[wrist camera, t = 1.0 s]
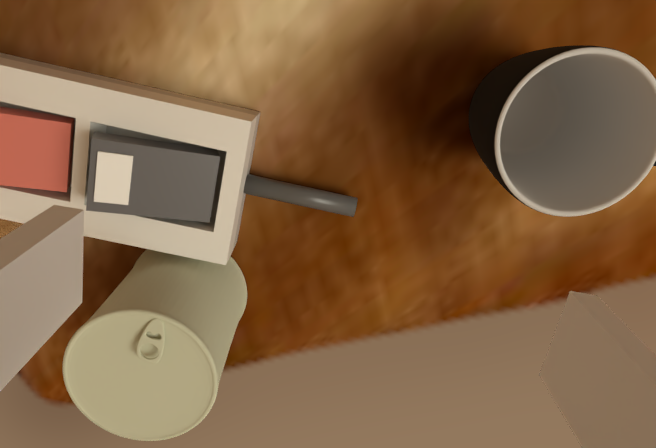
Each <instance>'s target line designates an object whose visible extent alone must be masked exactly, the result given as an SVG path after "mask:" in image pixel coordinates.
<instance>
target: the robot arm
mask: <svg viewBox="0 0 656 448" xmlns="http://www.w3.org/2000/svg"><path fill="white" fill-rule="evenodd" d="M83 240H84V210H83V209H77V208H71V207H65V206H59V205H53V206H52V207H50V208H48V209H47V210H45V211H44V212H42V213H40V214H39V215H37V216H36V217H34V218H32V219H31V220H29V221H28V222H26V223H24V224H23V225H21V226H20V227H18V228H16V229H15V230H13V231H12V232H10V233H8V234H7V235H5V236H4V237H2V238H0V391H1V390H2V389H3V388H4V387H5V386H6V384H8V382H9V381H10V380H11V379H12V378H13V377H14V376H15V375H16V374H17V373H18V372H19V371H20V369H21V368H22V367H23V366H24V365H25V364H26V363H27V362H28V361H29V360H30V359H31V358H32V356H33V355H34V354H35V353H36V352H37V351H38V350H39V349H40V348H41V347H42V346H43V345H44V343H45V342H46V341H47V340H48V339H49V338H50V337H51V336H52V335H53V334H54V333H55V332H56V330H57V329H58V328H59V327H60V326H61V325H62V324H63V323H64V322H65V321H66V320H67V319H68V317H69V316H70V315H71V314H72V313H73V312H74V311H75V310H76V309H77V308H78V307H79V306H80V304H81V303H82V293H83ZM539 376H540V378H541V379H542V381H543V383H544V384H545V386H546V388H547V390H548V391H549V393H550V395H551V396H552V398H553V399H554V401H555V403H556V404H557V406H558V408H559V410H560V412H561V413H562V415H563V417H564V418H565V420H566V422H567V423H568V425H569V427H570V428H571V430H572V432H573V434H574V435H575V437H576V438H577V440H578V442H579V444H580V445H581V447H582V448H656V355H655V354H654V353H653V352H652V351H651V350H650V349H649V348H648V347H647V346H646V345H645V344H644V343H643V342H642V341H641V339H640V338H639V337H638V336H636V334H635V333H634V332H633V331H632V330H631V329H630V328H629V327H628V326H627V325H626V324H625V323H624V322H623V321H622V320H621V319H620V318H619V317H618V316H617V315H616V314H614V312H613V311H612V310H611V309H610V308H609V307H608V306H607V305H606V304H605V303H604V302H603V301H602V300H601V299H600V298H599V297H598V296H597V295H591V294H585V293H579V292H573V291H570V293H569V295H568V298H567V301H566V303H565V306H564V309H563V311H562V315H561V317H560V319H559V322H558V325H557V327H556V330H555V333H554V335H553V338H552V341H551V343H550V346H549V349H548V352H547V354H546V357H545V360H544V362H543V365H542V368H541V370H540V373H539Z"/></svg>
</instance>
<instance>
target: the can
mask: <svg viewBox="0 0 656 448" xmlns="http://www.w3.org/2000/svg"><path fill="white" fill-rule="evenodd" d="M246 302H247V287H246V282H245V279H244V276H243V273H242V271H241V269H240V268H239V266H238V265H237V263H236V262H235V261H234V259H233V258H232V257H231V256H230V258H229V260H228V262H227V264H226V265H222V264H217V263H213V262H208V261H203V260H198V259H193V258H188V257H184V256H179V255H174V254H169V253H164V252H159V251H155V250H150V249H147V250H146V251H145V252H144V253H142V254H141V256H140V257H139V258H138V260H137V261H136V263H135V265H134V267H133V269H132V270H131V271H130V272H129V274H128V275H127V276H126V277H125V278H124V280H123V281H122V282H121V283H120V284H119V285H118V287H117V288H116V289H115V290H114V291H113V292H112V294H111V295H110V296H109V297H108V298H107V300H106V301H105V302H104V303H103V304H102V305H101V306H100V308H99V309H98V310H97V311H96V312H95V313H94V314H93V315H92V317H91V318H90V319H89V320H88V321H87V322H86V323H85V324H84V325H82V326H81V327H80V328H79V329H78V330H77V331H76V332H75V334H74V335H73V336H72V338H71V339H70V341H69V343H68V345H67V347H66V350H65V354H64V358H63V377H64V382H65V385H66V388H67V391H68V393H69V395H70V397H71V399H72V400H73V402H74V403H75V405H76V406H77V407H78V409H79V410H80V411H81V412H82V413H83V414H84V415H85V416H86V417H87V418H88V419H90V420H91V421H92V422H94V423H95V424H96V425H98V426H99V427H101V428H103V429H104V430H107V431H109V432H111V433H113V434H115V435H118V436H121V437H125V438H129V439H134V440H143V441H155V440H164V439H169V438H172V437H176V436H179V435H181V434H183V433H185V432H187V431H189V430H191V429H192V428H194V427H195V426H196V425H198V424H199V423H200V422H201V421H202V420H203V419H204V417H206V415H207V414H208V413H209V411H210V410H211V408H212V406H213V404H214V401H215V399H216V395H217V391H218V384H219V381H220V378H221V374H222V371H223V368H224V364H225V361H226V358H227V355H228V352H229V349H230V345H231V342H232V339H233V336H234V333H235V330H236V327H237V324H238V322H239V320H240V318H241V317H242V315H243V313H244V310H245V307H246Z"/></svg>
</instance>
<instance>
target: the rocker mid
mask: <svg viewBox="0 0 656 448" xmlns="http://www.w3.org/2000/svg"><path fill="white" fill-rule="evenodd" d="M73 134H74V118H73V117H66V116H60V115H53V114H46V113H40V112H33V111H27V110H20V109H14V108H7V107H0V185H4V186H13V187H22V188H32V189H41V190H51V191H60V192H67V190H68V188H69V185H70V179H71V164H72V149H73Z"/></svg>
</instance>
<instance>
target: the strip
mask: <svg viewBox="0 0 656 448" xmlns="http://www.w3.org/2000/svg"><path fill="white" fill-rule="evenodd" d="M0 107H7V108H14V109H20V110H27V111H33V112H40V113H46V114H53V115H60V116H66V117H73V118H74V134H73V149H72V164H71V179H70V185H69V188H68V190H67V192H60V191H51V190H41V189H32V188H22V187H13V186H4V185H0V219H5V220H9V221H14V222H19V223H26V222H28V221H29V220H31V219H32V218H34V217H36V216H37V215H39V214H40V213H42V212H44V211H45V210H47V209H48V208H50V207H52V206H53V205H59V206H65V207H71V208H77V209H83V210H84V236H87V237H92V238H96V239H101V240H106V241H111V242H116V243H121V244H126V245H130V246H135V247H140V248H145V249H150V250H155V251H159V252H164V253H169V254H174V255H179V256H184V257H188V258H193V259H198V260H203V261H208V262H213V263H217V264H222V265H226V264H227V262H228V260H229V258H230V256H231V253H232V251H233V249H234V247H235V245H236V242H237V239H238V233H239V228H240V222H241V217H242V211H243V206H244V200H245V195H246V194H250V195H254V196H259V197H263V198H268V199H273V200H277V201H282V202H287V203H291V204H296V205H300V206H305V207H310V208H314V209H319V210H323V211H328V212H333V213H337V214H342V215H347V216H351V217H353V216H354V214H355V210H356V206H357V198H355V197H351V196H346V195H341V194H337V193H332V192H328V191H323V190H319V189H314V188H310V187H305V186H300V185H296V184H291V183H287V182H282V181H278V180H273V179H268V178H264V177H259V176H255V175H250V174H249V173H250V167H251V162H252V156H253V150H254V145H255V139H256V134H257V128H258V123H259V117H260V112H259V111H254V110H250V109H245V108H241V107H237V106H232V105H228V104H224V103H219V102H215V101H210V100H206V99H202V98H197V97H193V96H188V95H184V94H180V93H175V92H171V91H166V90H162V89H158V88H153V87H149V86H145V85H140V84H136V83H131V82H127V81H123V80H118V79H114V78H109V77H105V76H101V75H96V74H92V73H87V72H83V71H79V70H74V69H70V68H66V67H61V66H57V65H52V64H48V63H44V62H39V61H35V60H30V59H26V58H22V57H17V56H13V55H9V54H4V53H0ZM94 132H101V133H108V134H115V135H122V136H129V137H136V138H142V139H149V140H156V141H163V142H170V143H177V144H184V145H190V146H197V147H204V148H211V149H217V150H218V153H219V155H220V161H219V167H218V174H217V180H216V186H215V192H214V199H213V205H212V211H211V217H210V222H199V221H189V220H179V219H168V218H158V217H147V216H137V215H127V214H116V213H106V212H95V211H86V204H87V191H88V178H89V165H90V152H91V140H92V136H93V133H94Z"/></svg>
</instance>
